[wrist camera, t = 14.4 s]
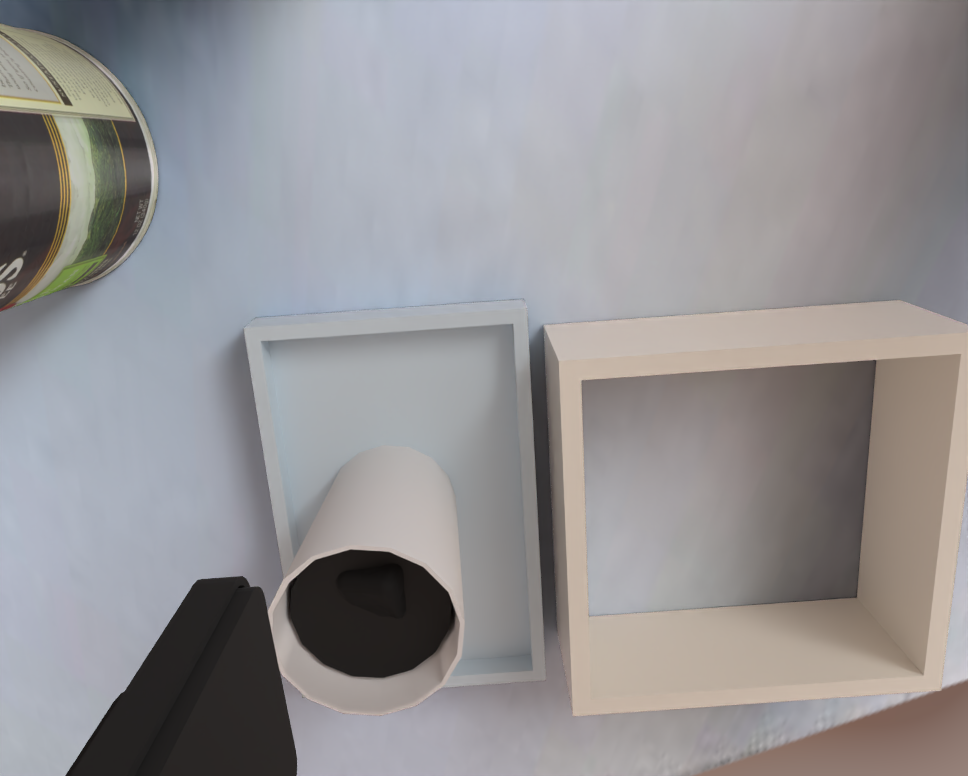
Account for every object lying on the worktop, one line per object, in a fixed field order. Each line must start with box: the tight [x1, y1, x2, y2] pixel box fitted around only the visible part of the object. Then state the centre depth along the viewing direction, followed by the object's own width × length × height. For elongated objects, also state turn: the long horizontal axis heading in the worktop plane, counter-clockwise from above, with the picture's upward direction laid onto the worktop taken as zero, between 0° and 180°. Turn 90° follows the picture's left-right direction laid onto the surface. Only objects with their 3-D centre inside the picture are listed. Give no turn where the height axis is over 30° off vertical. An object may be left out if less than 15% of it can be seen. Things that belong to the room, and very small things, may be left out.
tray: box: [243, 299, 546, 698], centre depth 36 cm, size 12×18×2 cm, turn 4°
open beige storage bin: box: [543, 300, 968, 716], centre depth 34 cm, size 16×16×6 cm
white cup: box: [268, 445, 465, 716], centre depth 31 cm, size 7×7×10 cm
